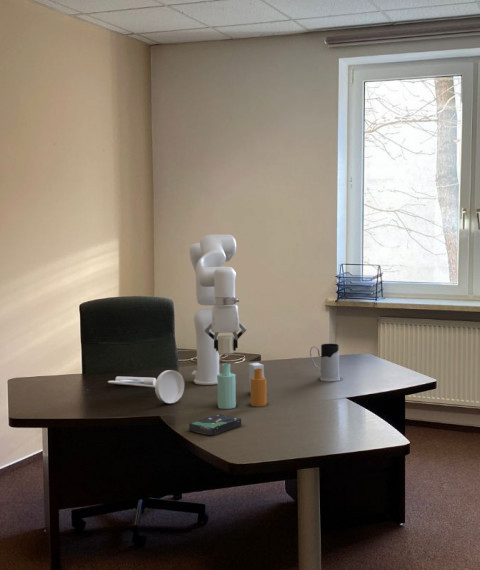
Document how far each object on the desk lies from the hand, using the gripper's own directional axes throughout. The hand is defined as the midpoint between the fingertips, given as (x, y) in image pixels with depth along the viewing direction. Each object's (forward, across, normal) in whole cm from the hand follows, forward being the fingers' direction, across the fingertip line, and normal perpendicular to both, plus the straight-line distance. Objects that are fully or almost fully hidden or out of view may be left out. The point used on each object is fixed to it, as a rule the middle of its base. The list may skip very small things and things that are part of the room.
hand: (225, 349), depth 272 cm
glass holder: (+21, -42, -45) cm, 65 cm away
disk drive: (+22, +4, +28) cm, 36 cm away
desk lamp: (+21, +32, -27) cm, 47 cm away
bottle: (+21, 0, 0) cm, 21 cm away
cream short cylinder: (+1, 0, 0) cm, 1 cm away
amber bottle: (+21, -12, -2) cm, 25 cm away
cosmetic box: (+21, -12, -19) cm, 31 cm away
